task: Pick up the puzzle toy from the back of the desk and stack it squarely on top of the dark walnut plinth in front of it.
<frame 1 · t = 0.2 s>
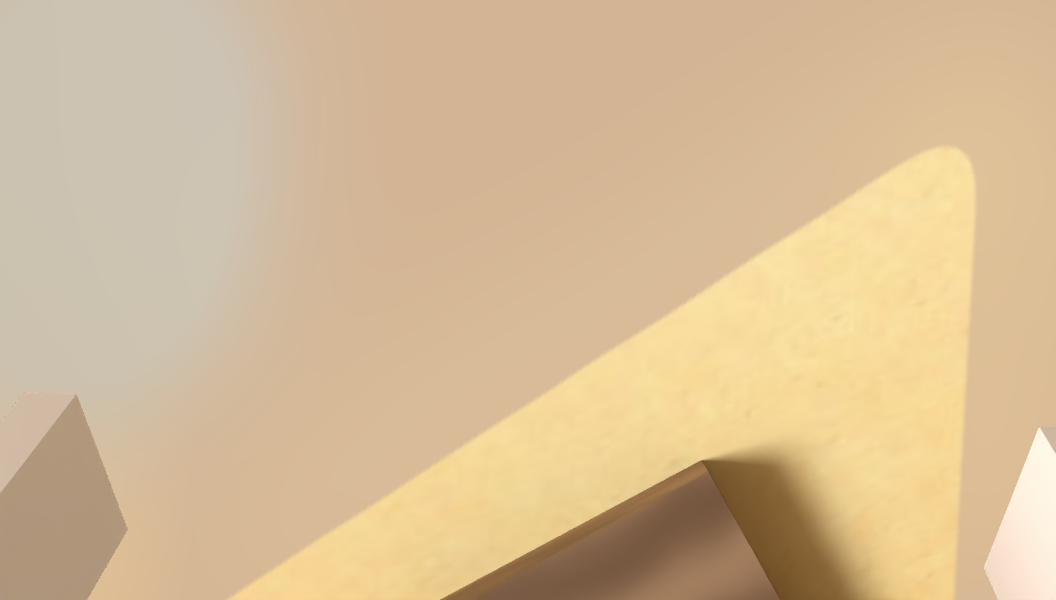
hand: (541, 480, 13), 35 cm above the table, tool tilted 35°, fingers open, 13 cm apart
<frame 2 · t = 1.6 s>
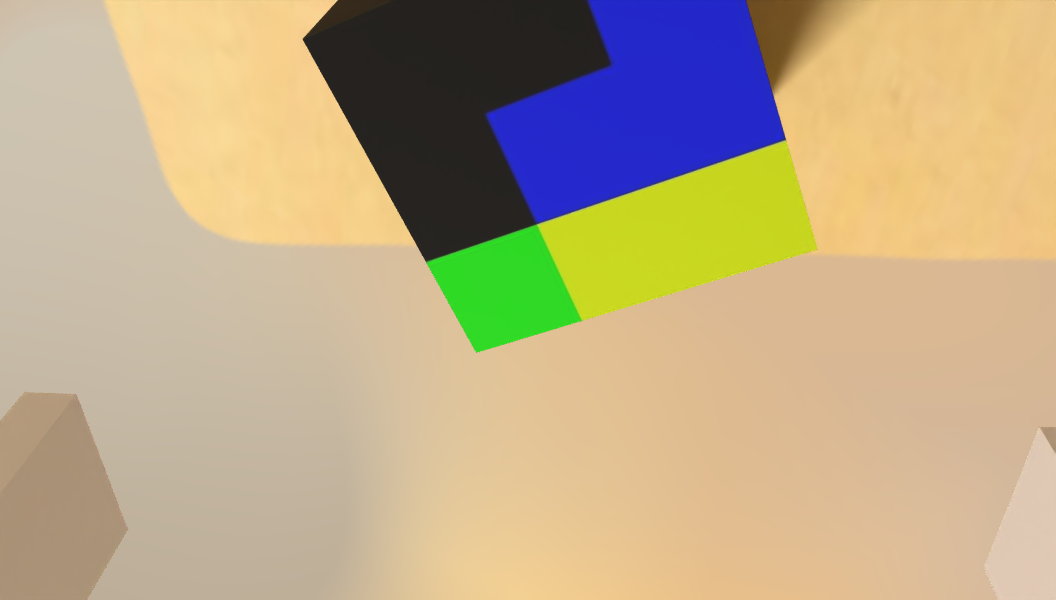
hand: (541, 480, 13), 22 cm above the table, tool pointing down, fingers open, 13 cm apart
puzzle toy: (581, 28, 31), on the table
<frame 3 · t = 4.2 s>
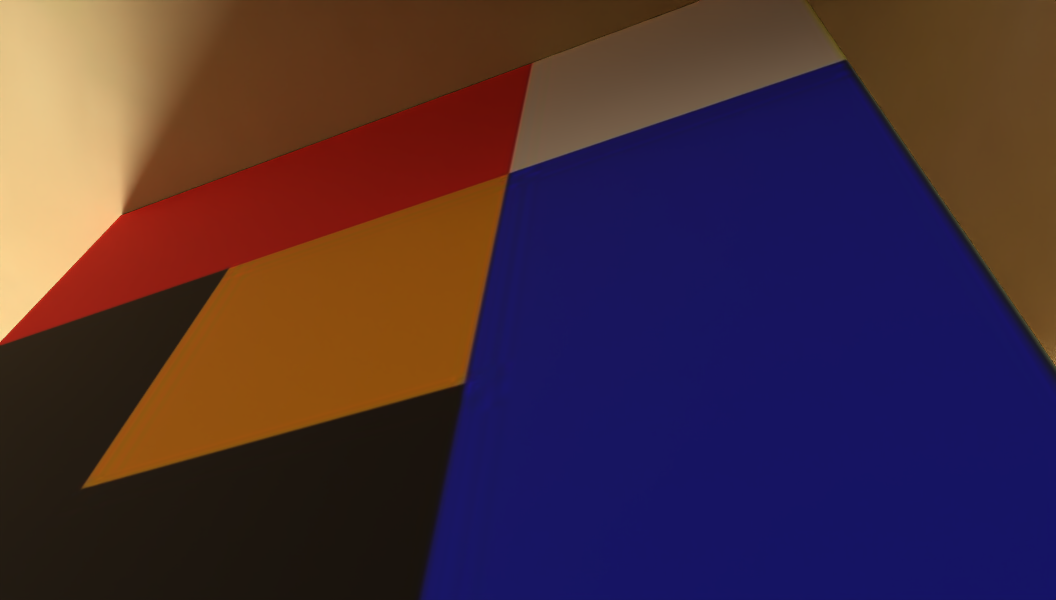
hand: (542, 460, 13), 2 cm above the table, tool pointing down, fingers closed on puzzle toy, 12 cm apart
puzzle toy: (550, 371, 15), on the table, touching gripper
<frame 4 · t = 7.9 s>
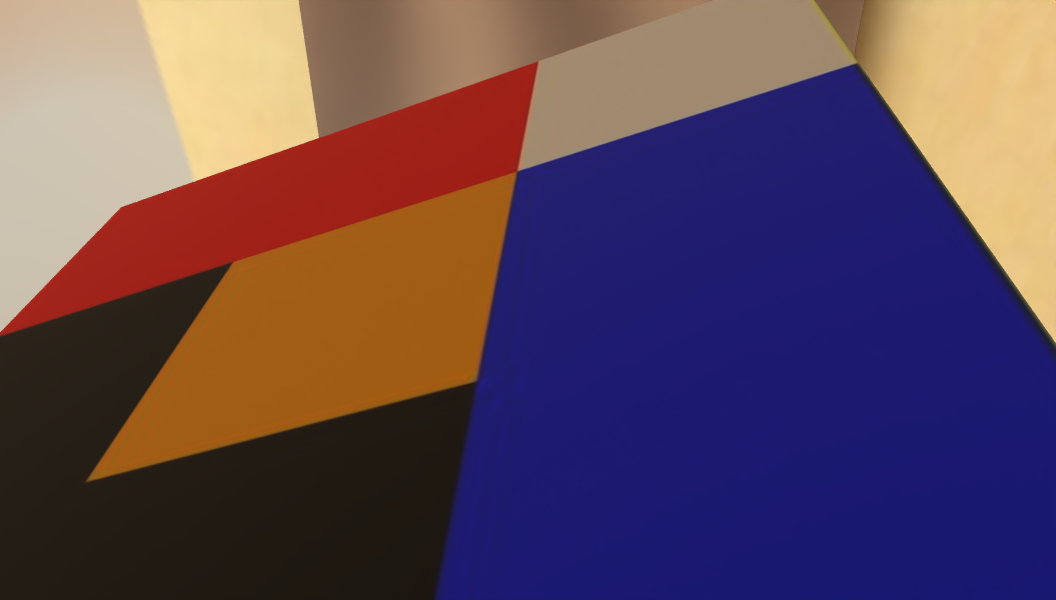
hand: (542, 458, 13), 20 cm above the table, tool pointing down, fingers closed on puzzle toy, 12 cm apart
walnut plinth: (577, 27, 30), on the table
puzzle toy: (550, 370, 15), point 18 cm above the table, touching gripper
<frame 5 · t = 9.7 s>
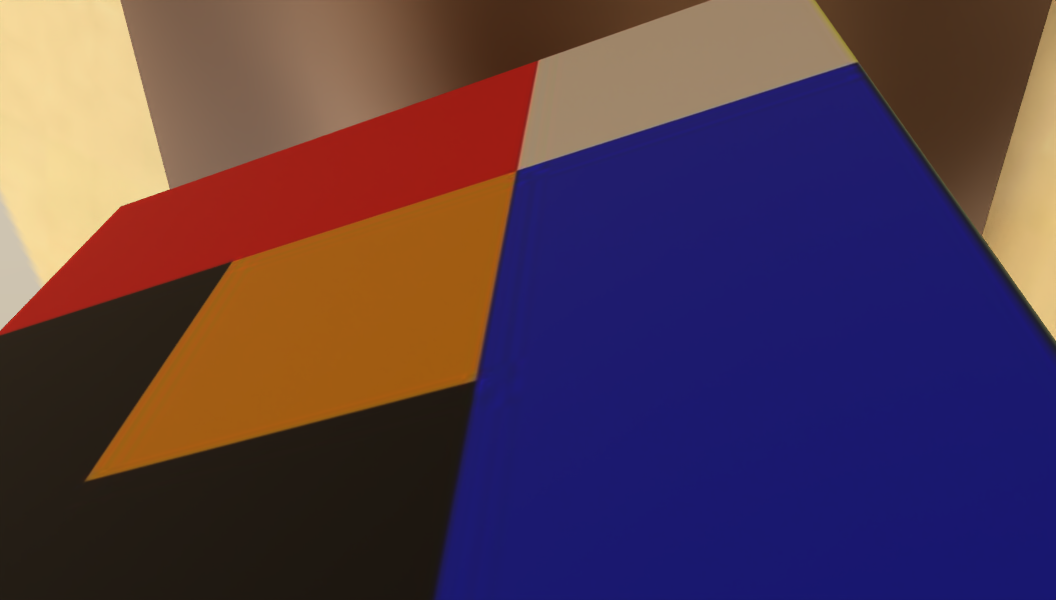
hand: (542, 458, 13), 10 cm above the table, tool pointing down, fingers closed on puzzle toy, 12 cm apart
walnut plinth: (573, 169, 22), on the table
puzzle toy: (549, 370, 15), point 8 cm above the table, touching gripper
when the fingers open (7 cm above the table, at t = 11.4 s): puzzle toy drops 1 cm, resting on walnut plinth.
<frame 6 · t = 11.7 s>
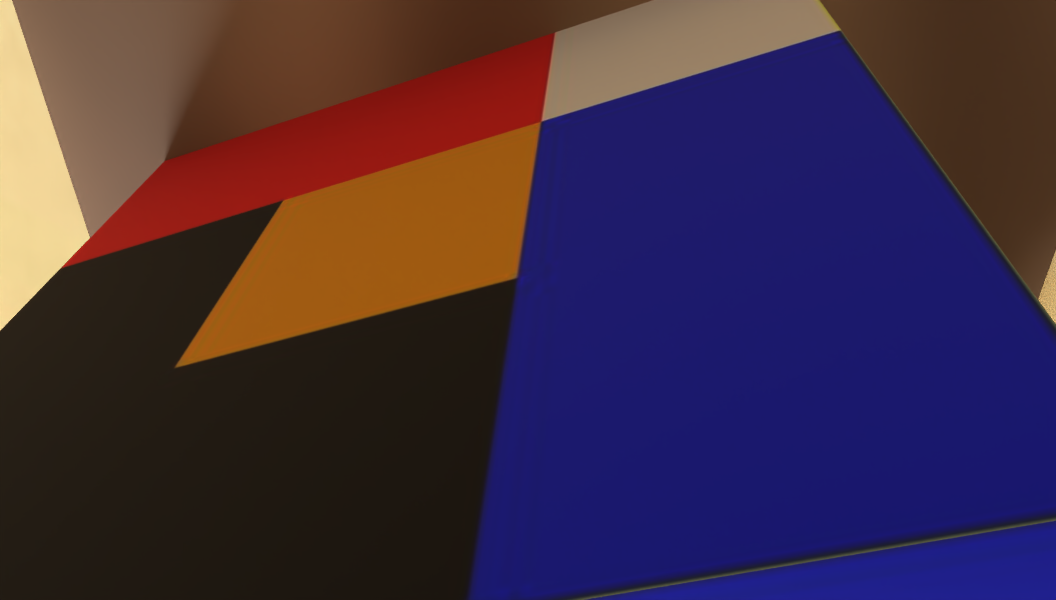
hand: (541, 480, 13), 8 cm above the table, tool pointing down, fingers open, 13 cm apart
walnut plinth: (562, 221, 19), on the table
puzzle toy: (555, 323, 16), point 4 cm above the table, touching walnut plinth
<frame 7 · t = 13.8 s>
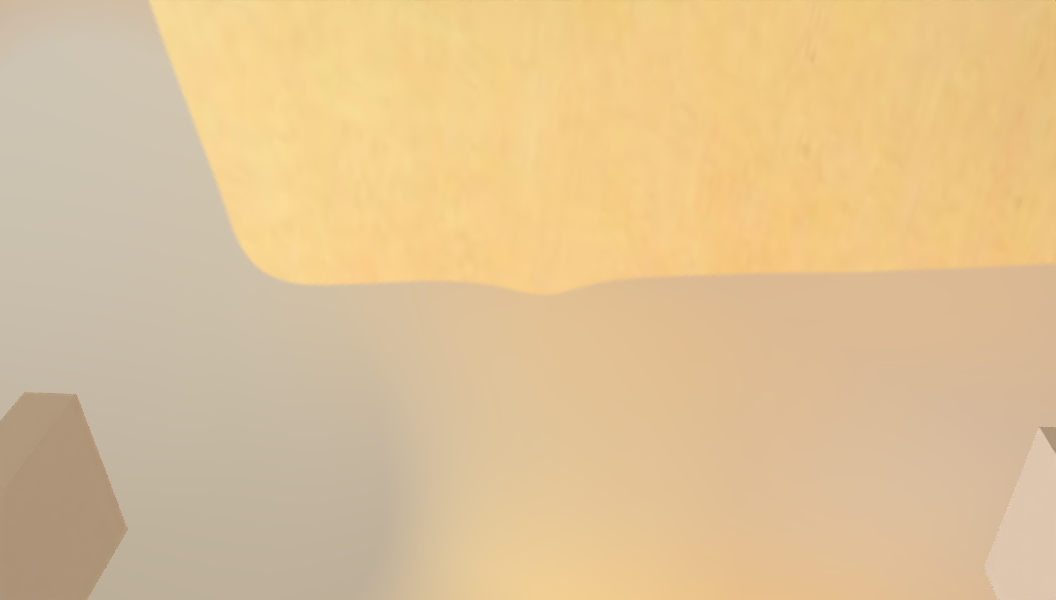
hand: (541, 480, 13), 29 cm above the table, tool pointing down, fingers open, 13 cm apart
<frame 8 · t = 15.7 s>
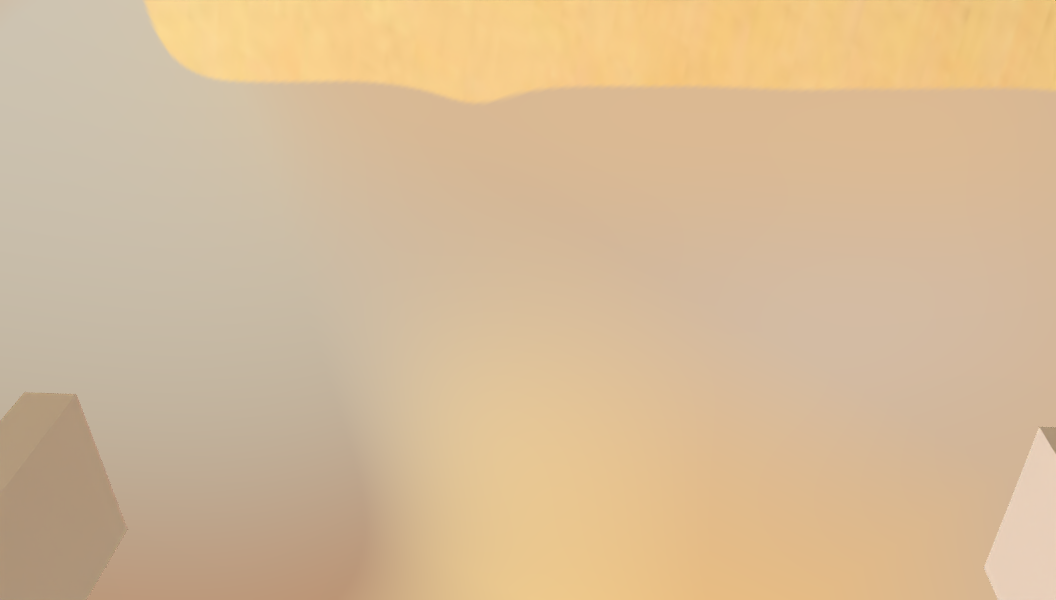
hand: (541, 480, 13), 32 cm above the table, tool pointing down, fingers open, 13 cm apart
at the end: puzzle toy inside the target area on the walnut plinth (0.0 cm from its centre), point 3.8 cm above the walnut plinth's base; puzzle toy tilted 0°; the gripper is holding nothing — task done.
